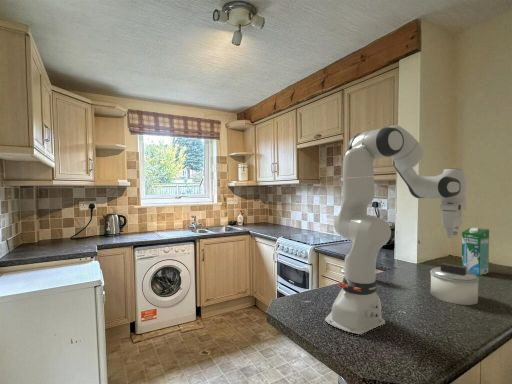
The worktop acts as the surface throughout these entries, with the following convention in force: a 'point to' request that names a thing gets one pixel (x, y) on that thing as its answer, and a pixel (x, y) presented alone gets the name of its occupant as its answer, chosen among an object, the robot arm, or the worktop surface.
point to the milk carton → (475, 250)
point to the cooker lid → (454, 272)
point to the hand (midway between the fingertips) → (452, 236)
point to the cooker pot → (454, 290)
